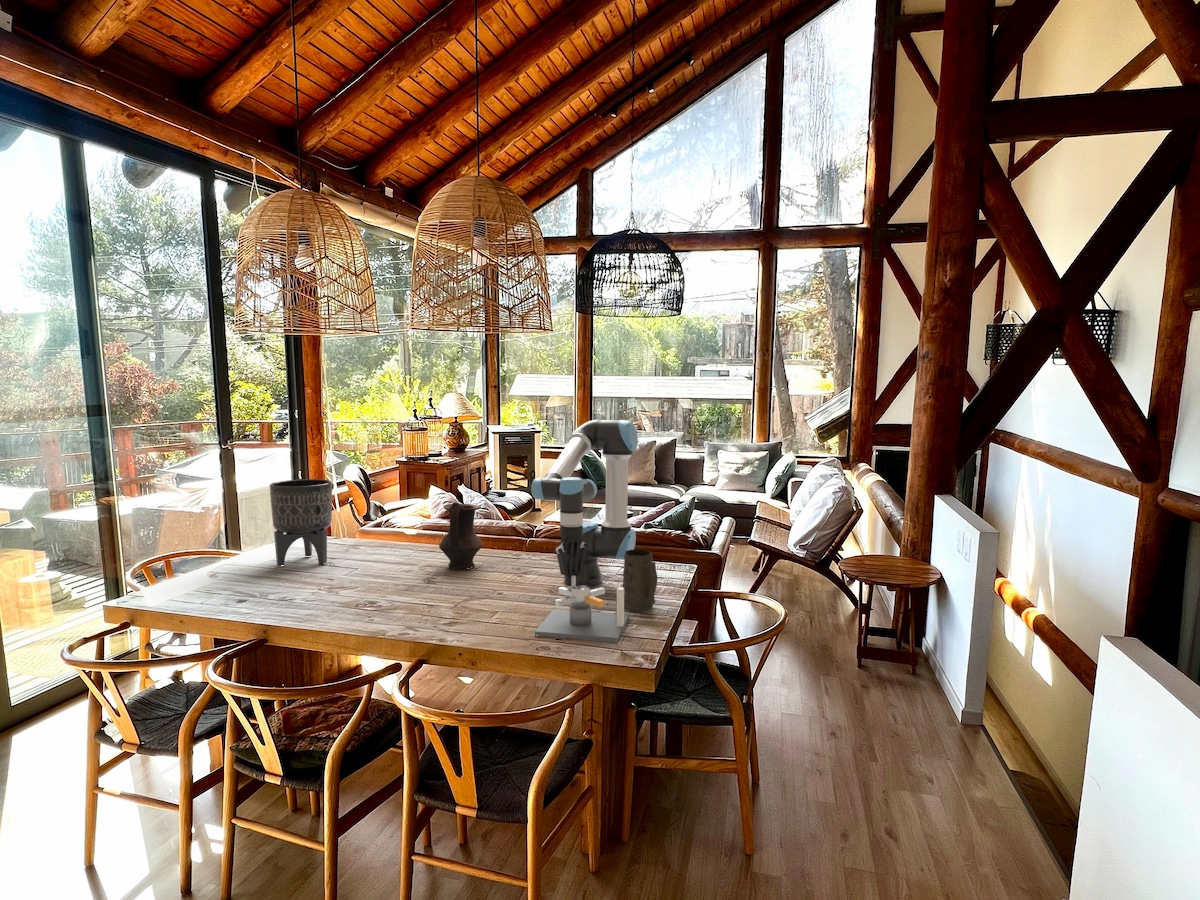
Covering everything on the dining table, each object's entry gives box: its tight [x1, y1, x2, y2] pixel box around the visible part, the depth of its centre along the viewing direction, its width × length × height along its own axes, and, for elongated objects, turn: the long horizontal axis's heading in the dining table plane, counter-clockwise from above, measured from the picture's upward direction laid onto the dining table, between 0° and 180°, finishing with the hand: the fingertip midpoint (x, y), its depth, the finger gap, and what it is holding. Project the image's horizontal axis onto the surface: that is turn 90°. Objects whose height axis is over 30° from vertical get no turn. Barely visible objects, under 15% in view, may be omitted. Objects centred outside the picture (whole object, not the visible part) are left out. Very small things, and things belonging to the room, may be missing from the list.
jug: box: [438, 501, 484, 570], centre depth 290 cm, size 21×18×30 cm
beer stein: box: [622, 548, 658, 612], centre depth 238 cm, size 15×11×20 cm
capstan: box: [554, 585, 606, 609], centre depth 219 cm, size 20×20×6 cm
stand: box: [534, 586, 630, 643], centre depth 219 cm, size 22×26×14 cm
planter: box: [269, 478, 333, 567], centre depth 298 cm, size 25×25×36 cm
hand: (571, 594), depth 225 cm, fingers closed
